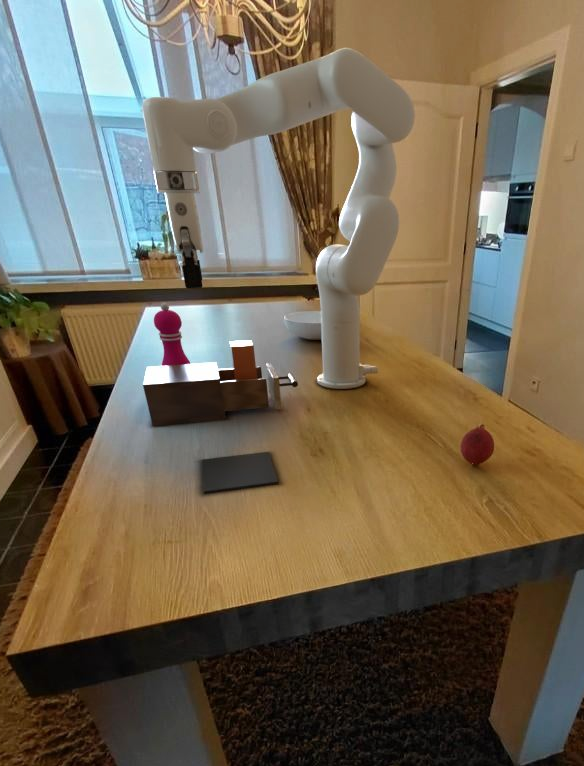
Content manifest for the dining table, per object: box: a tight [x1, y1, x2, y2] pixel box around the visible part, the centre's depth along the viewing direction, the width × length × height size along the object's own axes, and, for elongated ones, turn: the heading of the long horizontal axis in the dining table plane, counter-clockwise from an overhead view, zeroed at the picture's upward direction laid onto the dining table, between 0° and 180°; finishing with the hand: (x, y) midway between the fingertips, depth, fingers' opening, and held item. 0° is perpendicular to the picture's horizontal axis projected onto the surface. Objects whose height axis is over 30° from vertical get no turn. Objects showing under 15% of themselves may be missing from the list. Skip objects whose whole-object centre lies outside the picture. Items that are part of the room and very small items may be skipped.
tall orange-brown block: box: [229, 339, 257, 380], centre depth 108 cm, size 5×5×12 cm
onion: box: [460, 422, 495, 467], centre depth 87 cm, size 6×6×8 cm
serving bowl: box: [283, 310, 322, 341], centre depth 168 cm, size 21×21×7 cm
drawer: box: [218, 362, 299, 412], centre depth 111 cm, size 18×12×7 cm, turn 107°
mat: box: [201, 451, 279, 494], centre depth 86 cm, size 12×12×1 cm
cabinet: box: [142, 361, 226, 427], centre depth 107 cm, size 15×13×9 cm
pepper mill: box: [153, 302, 192, 366], centre depth 117 cm, size 7×7×20 cm
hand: (194, 284), depth 101 cm, fingers open, 9 cm apart
